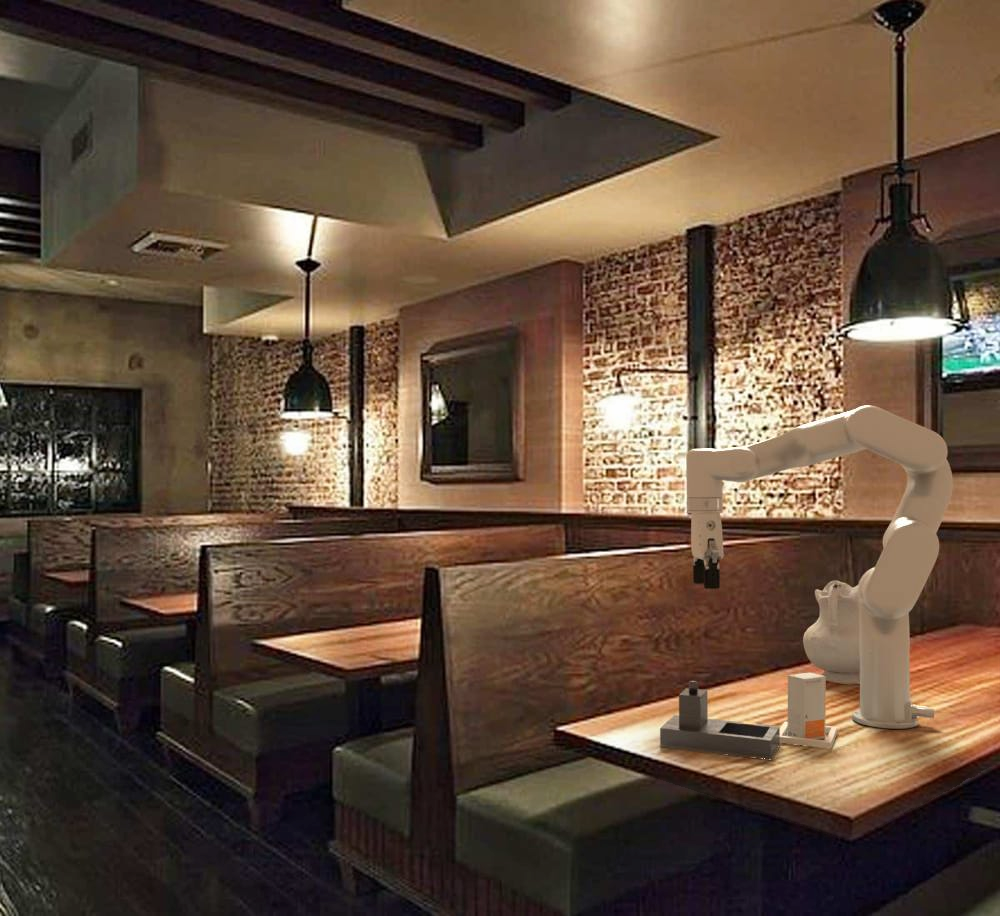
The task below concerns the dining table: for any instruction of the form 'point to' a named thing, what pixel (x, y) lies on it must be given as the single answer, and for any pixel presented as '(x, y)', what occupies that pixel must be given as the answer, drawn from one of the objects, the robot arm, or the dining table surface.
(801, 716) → the skincare box
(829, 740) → the tray frame
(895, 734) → the dining table surface
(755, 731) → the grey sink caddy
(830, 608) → the ceramic pitcher
